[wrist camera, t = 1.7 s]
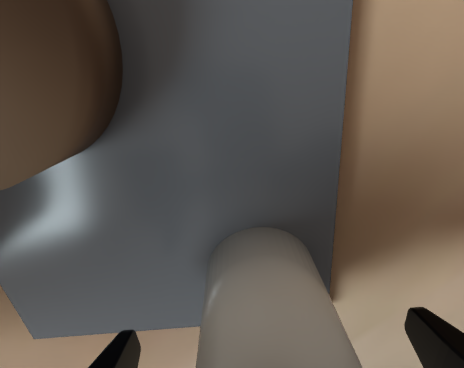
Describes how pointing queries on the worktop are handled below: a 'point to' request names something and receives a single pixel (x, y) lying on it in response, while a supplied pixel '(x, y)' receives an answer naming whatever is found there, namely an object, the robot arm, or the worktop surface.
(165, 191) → the board
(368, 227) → the worktop surface
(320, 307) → the cap
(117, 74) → the base
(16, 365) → the worktop surface
